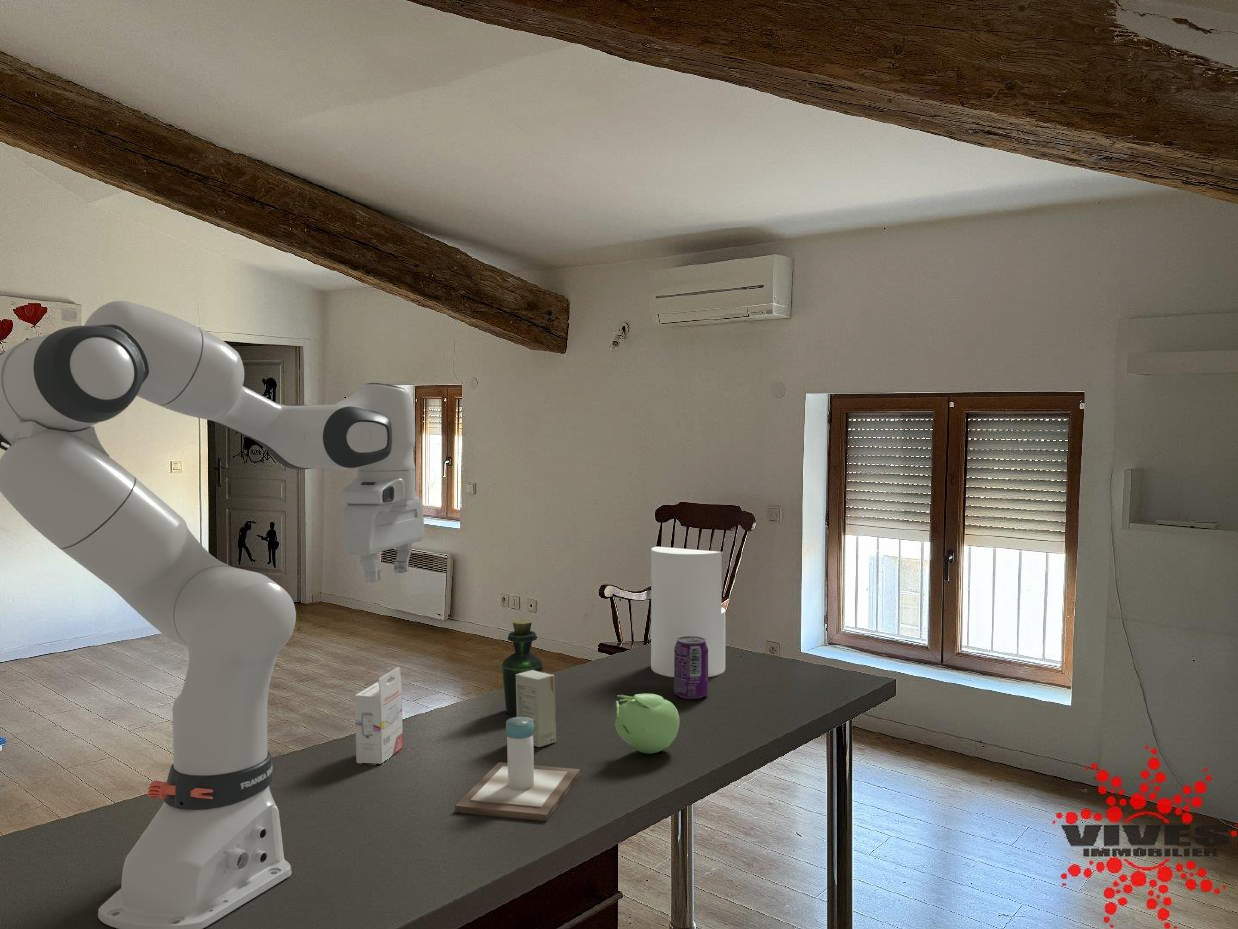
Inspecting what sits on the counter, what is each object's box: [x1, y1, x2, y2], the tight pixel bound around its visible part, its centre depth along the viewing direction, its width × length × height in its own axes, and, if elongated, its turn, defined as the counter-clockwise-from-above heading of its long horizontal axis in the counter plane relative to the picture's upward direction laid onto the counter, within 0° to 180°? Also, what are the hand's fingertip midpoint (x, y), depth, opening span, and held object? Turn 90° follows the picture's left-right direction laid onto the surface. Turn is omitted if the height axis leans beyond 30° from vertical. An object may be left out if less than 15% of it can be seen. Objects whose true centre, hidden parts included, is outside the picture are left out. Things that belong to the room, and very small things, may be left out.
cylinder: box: [650, 546, 726, 678], centre depth 217 cm, size 17×17×28 cm
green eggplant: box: [614, 693, 680, 754], centre depth 160 cm, size 12×11×11 cm
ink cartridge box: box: [354, 666, 404, 764], centre depth 159 cm, size 9×5×15 cm, turn 168°
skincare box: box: [516, 670, 557, 748], centre depth 167 cm, size 6×4×12 cm
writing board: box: [454, 761, 581, 822], centre depth 143 cm, size 18×14×1 cm
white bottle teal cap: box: [505, 716, 535, 790], centre depth 143 cm, size 4×4×10 cm
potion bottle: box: [501, 619, 544, 717], centre depth 184 cm, size 8×8×18 cm
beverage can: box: [673, 636, 709, 700], centre depth 195 cm, size 7×7×12 cm
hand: (387, 577), depth 145 cm, fingers open, 8 cm apart
